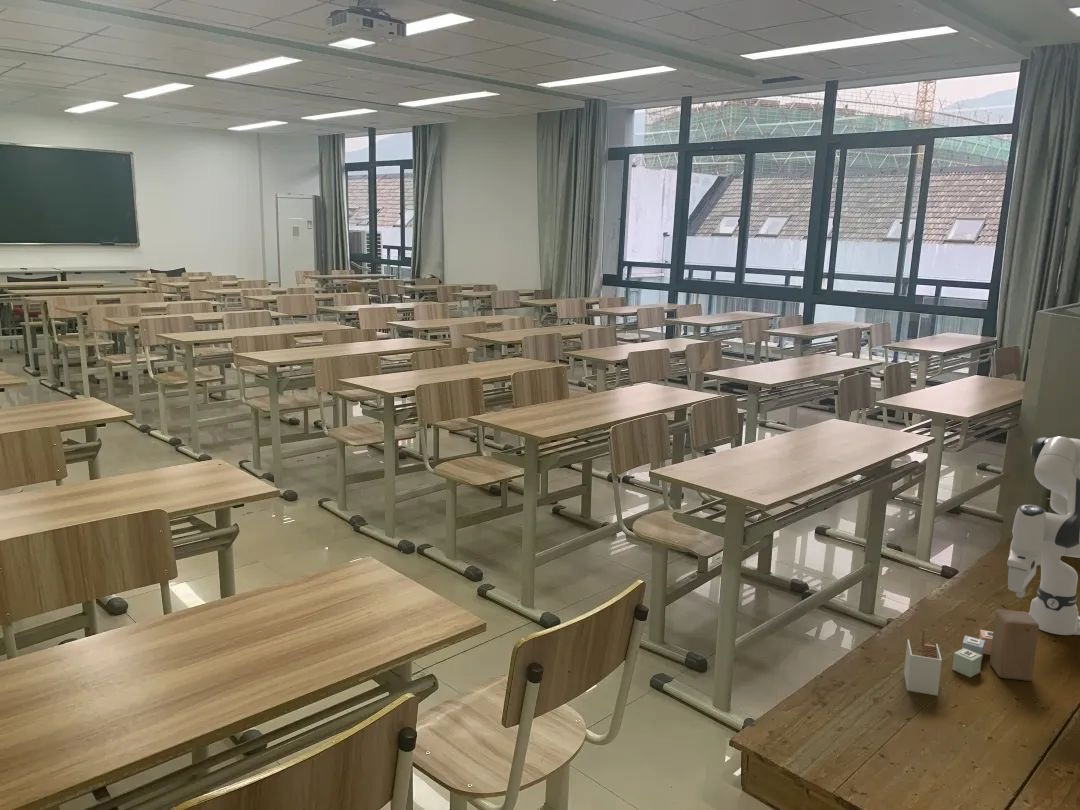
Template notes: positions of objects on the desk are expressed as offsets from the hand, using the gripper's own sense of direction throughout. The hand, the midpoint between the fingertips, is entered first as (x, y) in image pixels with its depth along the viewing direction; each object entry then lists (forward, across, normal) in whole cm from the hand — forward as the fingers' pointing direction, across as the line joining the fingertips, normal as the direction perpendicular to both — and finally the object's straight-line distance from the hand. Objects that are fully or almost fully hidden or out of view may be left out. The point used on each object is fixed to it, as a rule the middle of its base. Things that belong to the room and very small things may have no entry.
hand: (1020, 596), depth 253 cm
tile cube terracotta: (+27, -11, -9) cm, 31 cm away
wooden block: (+27, 0, 0) cm, 27 cm away
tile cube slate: (+27, -2, -12) cm, 30 cm away
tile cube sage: (+27, +9, -11) cm, 30 cm away
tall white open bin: (+28, +28, -19) cm, 44 cm away
